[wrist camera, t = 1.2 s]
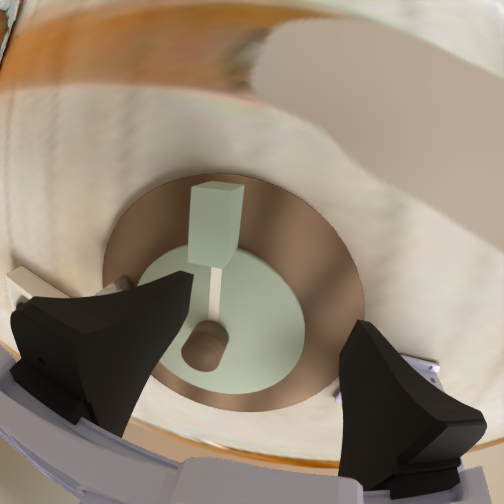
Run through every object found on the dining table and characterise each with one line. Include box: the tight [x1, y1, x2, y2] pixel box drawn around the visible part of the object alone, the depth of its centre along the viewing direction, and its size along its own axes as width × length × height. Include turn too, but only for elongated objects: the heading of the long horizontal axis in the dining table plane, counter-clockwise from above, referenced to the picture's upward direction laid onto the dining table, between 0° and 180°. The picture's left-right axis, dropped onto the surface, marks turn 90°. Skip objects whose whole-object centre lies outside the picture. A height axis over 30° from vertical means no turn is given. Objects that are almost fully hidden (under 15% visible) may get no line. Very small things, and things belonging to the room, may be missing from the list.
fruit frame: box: [5, 266, 71, 312], centre depth 30 cm, size 15×15×4 cm
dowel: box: [95, 275, 134, 296], centre depth 23 cm, size 2×2×5 cm
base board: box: [103, 173, 364, 412], centre depth 22 cm, size 25×25×6 cm
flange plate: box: [138, 181, 305, 394], centre depth 21 cm, size 20×15×4 cm
